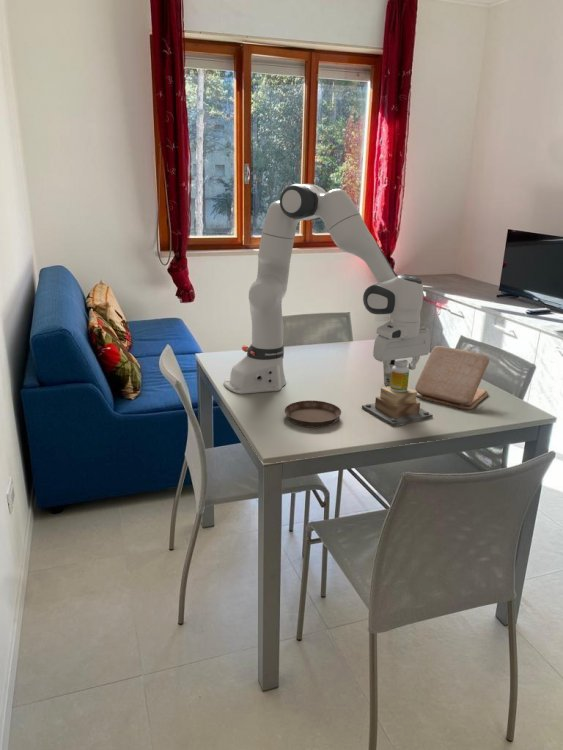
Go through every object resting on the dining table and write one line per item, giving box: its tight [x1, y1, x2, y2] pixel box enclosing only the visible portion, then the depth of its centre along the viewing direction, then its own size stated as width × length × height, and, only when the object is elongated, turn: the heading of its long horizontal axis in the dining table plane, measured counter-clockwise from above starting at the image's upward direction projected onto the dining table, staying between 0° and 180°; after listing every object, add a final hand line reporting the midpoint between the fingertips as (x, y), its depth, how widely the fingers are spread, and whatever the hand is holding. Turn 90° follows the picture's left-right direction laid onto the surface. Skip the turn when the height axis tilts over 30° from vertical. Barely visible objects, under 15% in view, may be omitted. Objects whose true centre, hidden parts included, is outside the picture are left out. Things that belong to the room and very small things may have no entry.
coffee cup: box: [382, 360, 395, 386], centre depth 214 cm, size 7×7×10 cm
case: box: [414, 345, 490, 410], centre depth 203 cm, size 20×21×16 cm
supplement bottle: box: [390, 358, 410, 392], centre depth 185 cm, size 5×5×10 cm
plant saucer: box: [284, 400, 342, 428], centre depth 183 cm, size 18×18×3 cm
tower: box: [361, 385, 434, 427], centre depth 188 cm, size 16×16×8 cm
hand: (400, 371), depth 184 cm, fingers open, 8 cm apart
